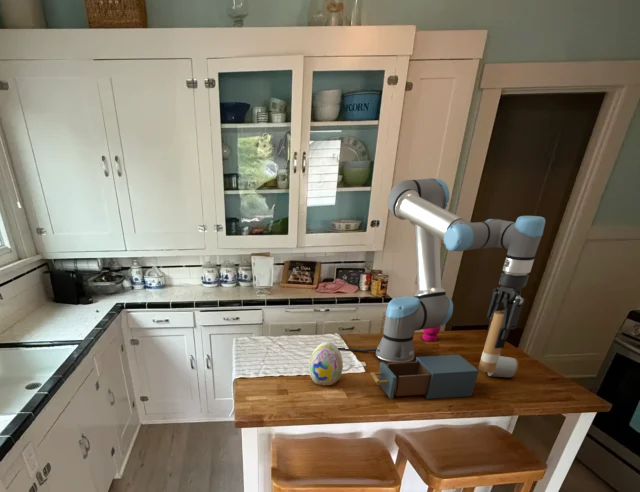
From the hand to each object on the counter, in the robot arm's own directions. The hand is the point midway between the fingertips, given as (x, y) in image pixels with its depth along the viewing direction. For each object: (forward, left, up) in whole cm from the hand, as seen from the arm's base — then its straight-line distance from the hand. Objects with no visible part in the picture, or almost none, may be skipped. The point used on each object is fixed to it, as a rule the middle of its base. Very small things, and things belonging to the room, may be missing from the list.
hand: (493, 344), depth 143 cm
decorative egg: (-42, -37, -16) cm, 58 cm away
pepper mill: (-36, +28, -16) cm, 48 cm away
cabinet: (-9, -12, -16) cm, 22 cm away
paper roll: (0, 0, -9) cm, 9 cm away
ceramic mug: (0, +13, -16) cm, 21 cm away
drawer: (-19, -25, -15) cm, 34 cm away
